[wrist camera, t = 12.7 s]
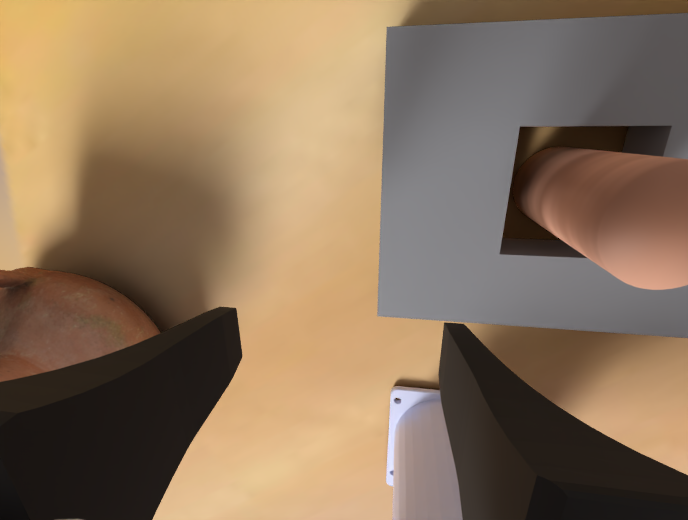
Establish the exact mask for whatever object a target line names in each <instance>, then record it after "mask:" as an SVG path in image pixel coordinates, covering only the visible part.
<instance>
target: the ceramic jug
mask: <svg viewBox="0 0 688 520" xmlns="http://www.w3.org/2000/svg"><path fill="white" fill-rule="evenodd" d="M157 334H160V331H159V330H158V328H157V327H156V325H155V324H154V323H153V322H152V320H151V319H150V318H149V317H148V316H147V315H146V314H145V313H144V312H143V311H142V310H141V309H140V308H139V307H138V306H137V305H136V304H135V303H134V302H132V301H131V300H130V299H129V298H127V297H126V296H124V295H123V294H121V293H120V292H118V291H117V290H115V289H113V288H111V287H109V286H107V285H106V284H103V283H101V282H99V281H96V280H94V279H91V278H88V277H85V276H81V275H77V274H72V273H66V272H61V271H50V270H44V269H39V268H33V267H26V268H19V269H15V270H12V271H5V270H0V382H2V381H7V380H12V379H17V378H22V377H26V376H31V375H36V374H40V373H44V372H48V371H52V370H56V369H60V368H64V367H67V366H71V365H74V364H77V363H81V362H84V361H88V360H91V359H95V358H98V357H101V356H104V355H107V354H110V353H112V352H115V351H118V350H121V349H124V348H126V347H129V346H132V345H134V344H137V343H139V342H141V341H144V340H146V339H148V338H151V337H153V336H155V335H157Z"/></svg>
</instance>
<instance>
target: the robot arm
mask: <svg viewBox="0 0 688 520" xmlns="http://www.w3.org/2000/svg"><path fill="white" fill-rule="evenodd" d="M241 359H242V349H241V341H240V333H239V326H238V318H237V310H236V308H229V307H218V308H215V309H213V310H210V311H208V312H205V313H203V314H201V315H199V316H197V317H194V318H192V319H190V320H188V321H186V322H184V323H182V324H180V325H177V326H175V327H173V328H171V329H169V330H167V331H164V332H162V333H160V334H157V335H155V336H153V337H151V338H148V339H146V340H144V341H141V342H139V343H137V344H134V345H132V346H129V347H126V348H124V349H121V350H118V351H115V352H112V353H110V354H107V355H104V356H101V357H98V358H95V359H91V360H88V361H84V362H81V363H77V364H74V365H71V366H67V367H64V368H60V369H56V370H52V371H48V372H44V373H40V374H36V375H31V376H26V377H22V378H17V379H12V380H7V381H2V382H0V520H152V519H153V517H154V515H155V512H156V510H157V508H158V506H159V504H160V502H161V500H162V498H163V496H164V494H165V492H166V490H167V488H168V486H169V484H170V481H171V479H172V477H173V476H174V474H175V472H176V470H177V468H178V466H179V464H180V462H181V460H182V458H183V456H184V454H185V453H186V451H187V449H188V447H189V445H190V444H191V442H192V440H193V439H194V437H195V435H196V434H197V432H198V431H199V429H200V428H201V426H202V425H203V423H204V422H205V420H206V419H207V417H208V416H209V414H210V413H211V411H212V410H213V408H214V407H215V405H216V404H217V402H218V401H219V399H220V397H221V396H222V394H223V393H224V391H225V390H226V388H227V387H228V385H229V383H230V382H231V380H232V378H233V376H234V374H235V372H236V370H237V368H238V365H239V363H240V361H241ZM439 385H440V390H433V389H423V388H413V387H403V386H395V387H393V388H392V389H391V398H390V417H389V436H388V455H387V474H386V482H387V484H388V485H390V486H393V520H688V475H686V474H684V473H682V472H679V471H677V470H675V469H673V468H671V467H669V466H666V465H664V464H662V463H660V462H658V461H655V460H653V459H651V458H649V457H647V456H645V455H642V454H640V453H638V452H636V451H634V450H633V449H631V448H629V447H627V446H625V445H623V444H621V443H619V442H617V441H615V440H614V439H612V438H610V437H608V436H606V435H604V434H602V433H601V432H599V431H597V430H595V429H594V428H592V427H590V426H588V425H587V424H585V423H583V422H582V421H580V420H579V419H577V418H575V417H574V416H572V415H571V414H569V413H567V412H566V411H564V410H563V409H561V408H560V407H558V406H557V405H555V404H554V403H552V402H551V401H549V400H548V399H547V398H545V397H544V396H542V395H541V394H540V393H538V392H537V391H536V390H534V389H533V388H532V387H530V386H529V385H528V384H526V383H525V382H524V381H523V380H521V379H520V378H519V377H518V376H517V375H516V374H514V373H513V372H512V371H511V370H510V369H509V368H507V367H506V366H505V365H504V364H503V363H502V362H501V361H500V360H499V359H498V358H497V357H496V356H494V355H493V354H492V353H491V352H490V351H489V350H488V349H487V348H486V347H485V346H484V345H483V344H482V343H481V341H480V340H479V339H478V338H477V337H476V336H475V335H474V334H473V333H472V332H471V331H470V330H469V329H468V328H467V327H466V326H465V325H464V324H457V323H444V330H443V339H442V348H441V357H440V366H439ZM395 398H400V400H396V399H395Z"/></svg>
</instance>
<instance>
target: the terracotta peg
mask: <svg viewBox="0 0 688 520" xmlns="http://www.w3.org/2000/svg"><path fill="white" fill-rule="evenodd" d="M513 197H514V201H515V203H516V205H517V207H518V208H519V210H520V211H521V212H522V213H523V214H524V215H526V216H527V217H529V218H530V219H532V220H533V221H534V222H536V223H537V224H539V225H540V226H542V227H543V228H545V229H546V230H548V231H549V232H551V233H552V234H553V235H555V236H556V237H558V238H559V239H561V240H562V241H564V242H565V243H567V244H568V245H570V246H571V247H573V248H574V249H575V250H577V251H578V252H580V253H581V254H583V255H584V256H586V257H587V258H589V259H590V260H592V261H593V262H594V263H596V264H597V265H599V266H600V267H602V268H603V269H605V270H606V271H608V272H609V273H611V274H612V275H613V276H615V277H616V278H618V279H619V280H621V281H623V282H625V283H627V284H629V285H632V286H634V287H638V288H643V289H650V290H664V289H673V288H678V287H682V286H686V285H688V159H680V158H671V157H661V156H651V155H641V154H631V153H621V152H611V151H602V150H592V149H582V148H572V147H551V148H547V149H544V150H542V151H539V152H537V153H536V154H534V155H533V156H531V157H530V158H529V159H528V160H527V161H525V163H524V164H523V165H522V166H521V167H520V169H519V170H518V172H517V174H516V177H515V179H514V183H513Z"/></svg>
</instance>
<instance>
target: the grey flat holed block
mask: <svg viewBox="0 0 688 520" xmlns="http://www.w3.org/2000/svg"><path fill="white" fill-rule="evenodd" d="M587 126H629V127H628V131H627V135H626V138H625V142H624V146H623V150H622V153H631V154H641V155H651V156H661V157H671V158H680V159H688V13H675V14H654V15H633V16H611V17H590V18H568V19H547V20H525V21H504V22H482V23H461V24H439V25H418V26H397V27H387V39H386V70H385V100H384V131H383V161H382V192H381V222H380V253H379V284H378V314H377V316H382V317H397V318H411V319H425V320H439V321H453V322H467V323H482V324H496V325H510V326H524V327H538V328H552V329H567V330H581V331H595V332H609V333H623V334H637V335H652V336H666V337H680V338H688V285H686V286H682V287H678V288H673V289H664V290H650V289H643V288H638V287H634V286H632V285H629V284H627V283H625V282H623V281H621V280H619V279H618V278H616V277H615V276H613V275H612V274H611V273H609V272H608V271H606V270H605V269H603V268H602V267H600V266H599V265H597V264H596V263H594V262H593V261H592V260H590V259H589V258H587V257H586V256H584V255H583V254H581V253H580V252H578V251H577V250H575V249H574V248H573V247H571V246H570V245H568V244H567V243H565V242H564V241H562V240H543V239H516V238H502V236H503V229H504V223H505V217H506V211H507V204H508V198H509V192H510V186H511V179H512V173H513V167H514V161H515V154H516V148H517V142H518V136H519V129H520V127H587Z"/></svg>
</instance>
